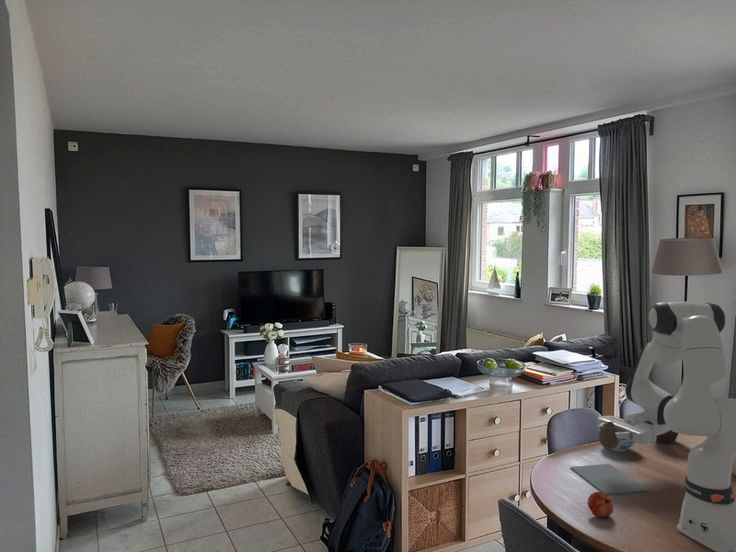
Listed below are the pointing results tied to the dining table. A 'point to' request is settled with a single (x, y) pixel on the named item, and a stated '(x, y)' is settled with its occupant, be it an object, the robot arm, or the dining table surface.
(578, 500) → the dining table surface
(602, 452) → the dining table surface
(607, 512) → the pomegranate
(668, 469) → the dining table surface
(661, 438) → the plant pot
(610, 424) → the vase
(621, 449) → the chinaware
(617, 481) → the mat
